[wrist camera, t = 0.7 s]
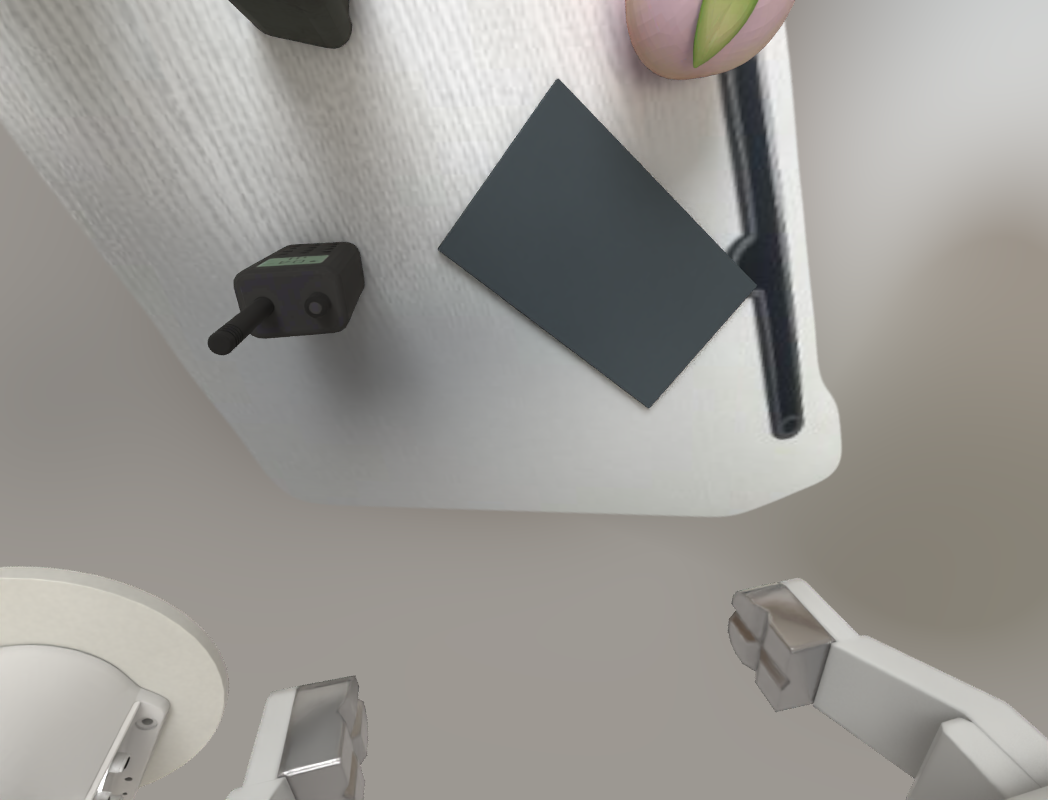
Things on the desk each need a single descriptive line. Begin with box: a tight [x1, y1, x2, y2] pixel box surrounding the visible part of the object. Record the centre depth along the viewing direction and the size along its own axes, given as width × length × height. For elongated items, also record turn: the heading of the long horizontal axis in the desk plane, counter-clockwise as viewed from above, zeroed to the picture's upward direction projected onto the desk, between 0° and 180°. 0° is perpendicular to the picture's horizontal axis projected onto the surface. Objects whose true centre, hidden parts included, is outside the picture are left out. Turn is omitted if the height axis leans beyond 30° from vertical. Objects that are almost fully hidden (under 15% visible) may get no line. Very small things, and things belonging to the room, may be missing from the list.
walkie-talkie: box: [208, 242, 364, 355], centre depth 24 cm, size 5×3×15 cm
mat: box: [438, 79, 757, 408], centre depth 34 cm, size 20×12×1 cm, turn 51°
